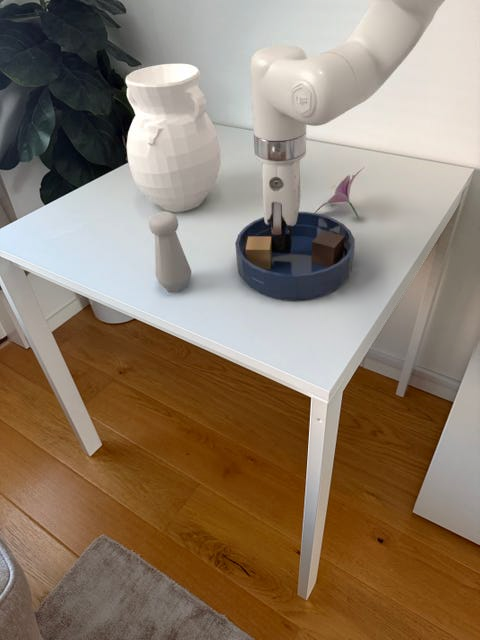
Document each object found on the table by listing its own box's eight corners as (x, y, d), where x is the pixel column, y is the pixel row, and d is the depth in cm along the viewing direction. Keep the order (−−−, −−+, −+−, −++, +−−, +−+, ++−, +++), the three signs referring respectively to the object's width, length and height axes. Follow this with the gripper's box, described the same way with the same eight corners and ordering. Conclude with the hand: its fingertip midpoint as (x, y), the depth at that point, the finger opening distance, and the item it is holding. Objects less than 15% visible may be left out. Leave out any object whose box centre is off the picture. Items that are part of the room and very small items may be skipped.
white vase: (242, 190, 104) (232, 63, 87) (189, 231, 93) (167, 94, 76) (175, 174, 112) (155, 56, 96) (120, 210, 101) (86, 82, 84)
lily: (361, 201, 99) (341, 159, 95) (395, 203, 88) (375, 156, 84) (315, 234, 97) (293, 193, 94) (344, 240, 87) (321, 194, 83)
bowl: (352, 237, 87) (354, 213, 84) (351, 305, 73) (354, 279, 70) (248, 234, 90) (246, 210, 87) (228, 298, 76) (225, 272, 73)
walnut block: (343, 256, 82) (344, 235, 79) (333, 268, 79) (334, 247, 77) (321, 250, 84) (322, 230, 81) (311, 261, 81) (311, 241, 79)
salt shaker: (172, 271, 83) (159, 203, 74) (199, 280, 81) (189, 210, 72) (151, 290, 79) (134, 220, 71) (179, 299, 77) (165, 229, 68)
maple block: (272, 256, 83) (271, 236, 81) (270, 269, 80) (269, 249, 78) (249, 255, 84) (248, 236, 81) (247, 269, 81) (245, 249, 78)
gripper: (301, 166, 64) (299, 277, 76) (309, 125, 75) (307, 228, 87) (245, 166, 65) (252, 275, 77) (262, 125, 76) (266, 226, 88)
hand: (281, 250), depth 82 cm, fingers closed
